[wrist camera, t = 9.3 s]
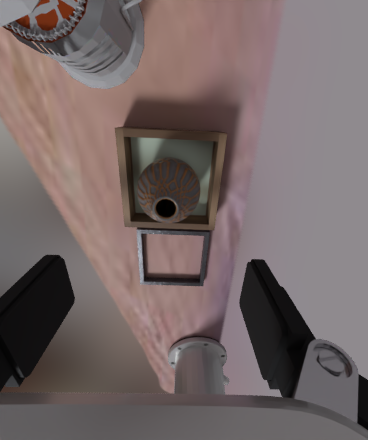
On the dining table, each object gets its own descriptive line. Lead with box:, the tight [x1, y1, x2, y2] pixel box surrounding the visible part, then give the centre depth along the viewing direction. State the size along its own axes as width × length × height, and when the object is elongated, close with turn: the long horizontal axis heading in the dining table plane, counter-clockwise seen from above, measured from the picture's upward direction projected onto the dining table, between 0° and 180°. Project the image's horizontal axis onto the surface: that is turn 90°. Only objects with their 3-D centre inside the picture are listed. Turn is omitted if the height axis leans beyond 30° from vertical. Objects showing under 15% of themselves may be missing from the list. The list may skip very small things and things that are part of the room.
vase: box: [137, 157, 200, 223], centre depth 21 cm, size 7×7×9 cm
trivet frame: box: [137, 227, 210, 286], centre depth 31 cm, size 10×10×1 cm
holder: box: [115, 127, 227, 230], centre depth 25 cm, size 12×12×3 cm
